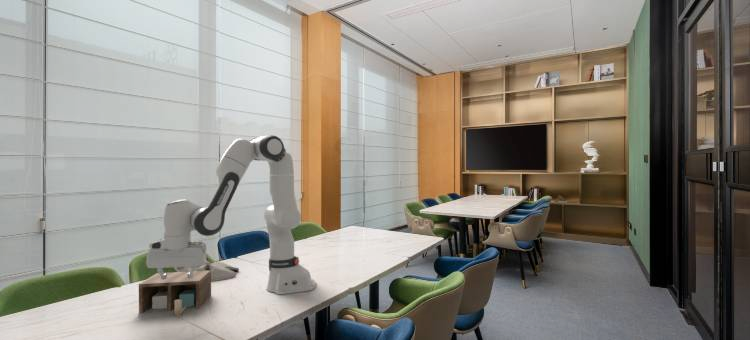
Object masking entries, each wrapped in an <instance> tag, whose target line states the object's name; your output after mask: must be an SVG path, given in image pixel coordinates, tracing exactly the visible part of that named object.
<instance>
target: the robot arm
mask: <svg viewBox="0 0 750 340" xmlns="http://www.w3.org/2000/svg"><path fill="white" fill-rule="evenodd" d="M253 161H263V162H265V161H267V163H268V166H269V194H270V196H271V200H272V204H270V205H268V206H267V207H266V208H265V210H264V213H263V215H264V216H263V217H264V219H265V222H266V223H265V224H266V228H267V232H268V238H269V239H268V240H269V259H268V271H269V276H268V281H267V285H266V290H267V292H268V291H269V292H270V293H274V294H276V295H286V294H294V293H302V292H309V291H313V290H314V289H315V288H316V286H317V284H316V283H317V282H316V281H315V279H313V278H312V276H311V273H310V271H309V270H308V269H307V268H306V267H304V266H302V265H301V264H300V258H299V256H296V255H295V239H294V237H293V234H292V230H294V229H295V228H297V227H298V226H299V225H300V223H301V221H302V214H301V212H300V211H299V207H298V204H297V200H296V196H295V170H294V162H293V157H292V155H291V154H290V153H289V152H287V151H286V149H285V145H284V142H283V140H282V139H281V138H280V137H278V136H276V135H273V134H270V135H269V134H268V135H261V136H259V137H255V138H253V139H251V140H248V139H245V138H237V139H235V140H234V141H233V142H232V143H231V144H230V145H229V147H228V148H227V149H226V151H225V152H224V154H223V155H222V157H221V159H220V160H219V162H218V165H217V168H216V176H217V178H218V186H217V189H216V190H215V193H214V195H213V197H212V198H211V201H210V202H209V204H208V206H202V205H199V204H196V203H194V202H192V201H190V200H189V199H176V200H172V201H170V202H168V203H167V204H166V205H165V209H164V215H163V216H164V217H163V226H164V233H163V238H161V239H158V240H156V241H153V242H151V243H149V244H148V248H149V250H148V252H147V253H146V254H147V255H146V260H145V262H146V264H145V265H146V267H147V268H148V269H156V270H157V271H156V272H157V273H159V274H160V275H161V278H160V279H166V278H167V274H165V273H166V272H164V269H165V268H174V267H191V269H192V271H191V272H190V273H188V274H187V276H188V277H187V278H193V272H194V271H195V269H196V266H203V265H204V264H205V263H206V261H207V255H206V254H207V253H206V251H207V244H206V243H205V242H203V241H191V240H192V237H191V232H192V231H196V232H197V233H199V234H200V235H201V236H205V237H210V236H214V235H216V234H218V233H219V232H220V231H221V230H223V227H224V224H225V217H226V212H227V210H228V208H229V205H230V203H231V201H232V199H233V197H234V194H235V192H236V190H237V188H238V186H239V184H240V182H241V180H242V179H243V177H244V176H245V174H246V172H247V170H248V168H249V166H250V165H251V163H252V162H253Z"/></svg>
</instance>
